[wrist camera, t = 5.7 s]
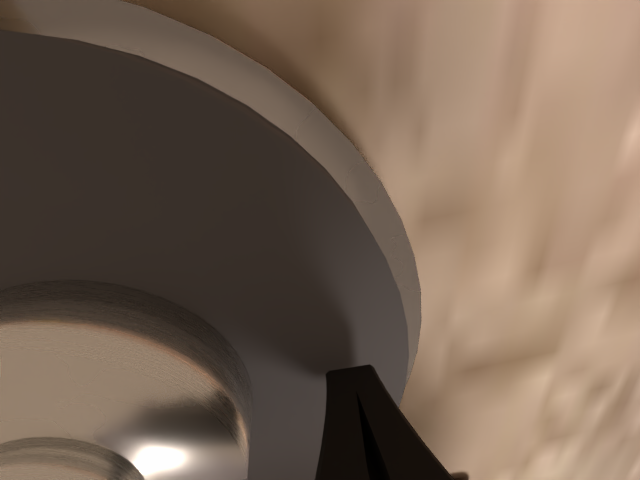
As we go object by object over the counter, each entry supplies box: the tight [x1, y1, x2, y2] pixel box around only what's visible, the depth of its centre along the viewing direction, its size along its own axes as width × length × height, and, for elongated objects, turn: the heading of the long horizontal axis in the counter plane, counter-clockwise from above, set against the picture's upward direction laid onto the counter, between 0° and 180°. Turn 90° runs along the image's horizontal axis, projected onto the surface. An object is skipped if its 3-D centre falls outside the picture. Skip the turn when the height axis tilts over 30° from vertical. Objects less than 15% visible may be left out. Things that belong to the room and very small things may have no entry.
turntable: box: [0, 30, 409, 480], centre depth 11 cm, size 22×20×2 cm
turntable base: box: [0, 0, 421, 383], centre depth 13 cm, size 22×22×1 cm
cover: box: [0, 280, 253, 480], centre depth 9 cm, size 9×9×4 cm
